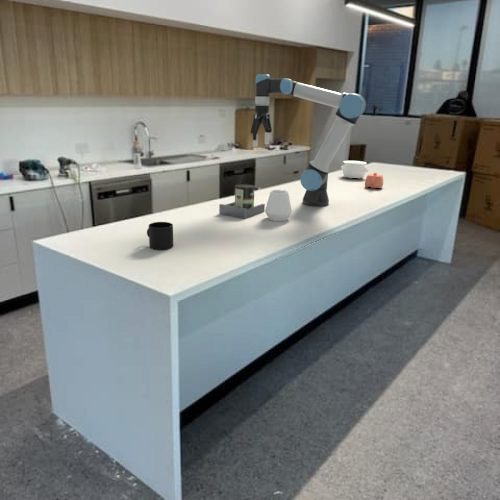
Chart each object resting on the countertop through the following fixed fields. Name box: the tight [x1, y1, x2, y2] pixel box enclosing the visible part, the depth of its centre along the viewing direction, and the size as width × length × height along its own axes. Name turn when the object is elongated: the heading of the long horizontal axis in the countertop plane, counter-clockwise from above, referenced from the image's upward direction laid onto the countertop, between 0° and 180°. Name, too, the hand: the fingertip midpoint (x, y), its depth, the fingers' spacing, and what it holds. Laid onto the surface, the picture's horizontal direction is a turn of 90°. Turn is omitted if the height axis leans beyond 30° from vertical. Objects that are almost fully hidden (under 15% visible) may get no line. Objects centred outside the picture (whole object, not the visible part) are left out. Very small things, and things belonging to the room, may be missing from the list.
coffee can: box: [234, 183, 256, 209], centre depth 240 cm, size 10×10×14 cm
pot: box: [340, 160, 369, 179], centre depth 356 cm, size 22×17×12 cm
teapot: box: [364, 172, 384, 189], centre depth 318 cm, size 12×18×10 cm, turn 151°
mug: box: [146, 221, 174, 251], centre depth 183 cm, size 9×12×9 cm
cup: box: [264, 189, 293, 222], centre depth 229 cm, size 13×13×14 cm
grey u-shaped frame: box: [218, 201, 266, 219], centre depth 240 cm, size 16×20×5 cm
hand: (261, 145), depth 254 cm, fingers open, 13 cm apart
